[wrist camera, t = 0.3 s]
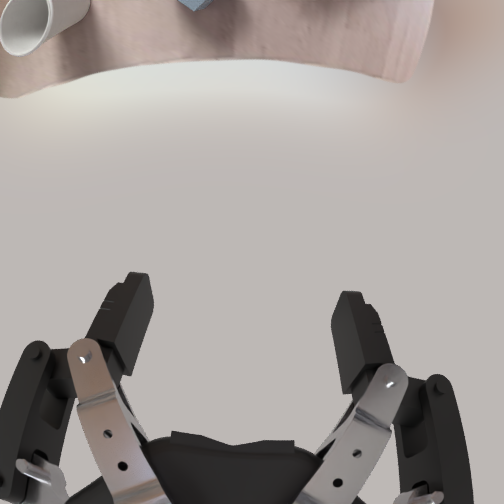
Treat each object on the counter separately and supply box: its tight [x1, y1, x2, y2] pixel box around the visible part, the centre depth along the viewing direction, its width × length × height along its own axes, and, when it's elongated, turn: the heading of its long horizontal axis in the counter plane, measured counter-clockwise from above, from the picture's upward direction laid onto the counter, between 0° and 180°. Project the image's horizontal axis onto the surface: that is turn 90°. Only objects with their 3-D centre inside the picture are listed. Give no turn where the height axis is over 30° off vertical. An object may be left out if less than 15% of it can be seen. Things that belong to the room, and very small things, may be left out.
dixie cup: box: [0, 0, 90, 57], centre depth 15 cm, size 8×8×10 cm
